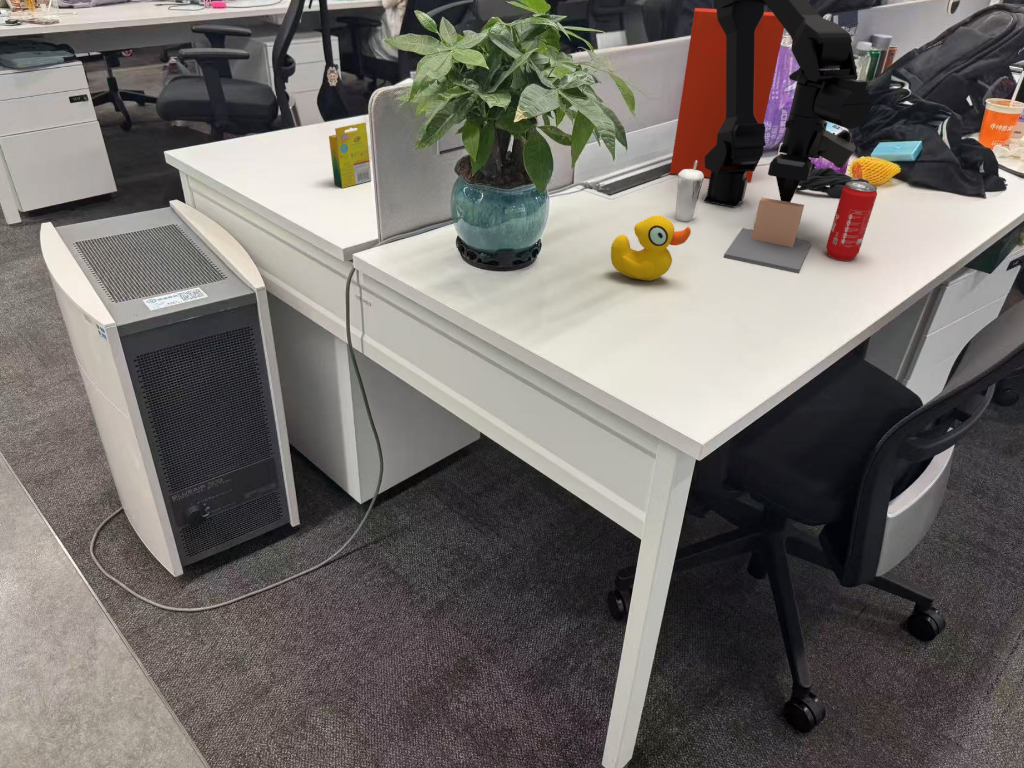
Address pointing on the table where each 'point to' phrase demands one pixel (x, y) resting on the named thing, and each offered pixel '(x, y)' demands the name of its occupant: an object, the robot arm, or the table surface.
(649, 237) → the duckling
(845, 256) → the beverage can
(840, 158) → the robot arm
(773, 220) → the tile
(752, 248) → the mat
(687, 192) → the milkshake
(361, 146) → the crayon box
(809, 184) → the cable
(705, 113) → the file binder
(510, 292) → the table surface
